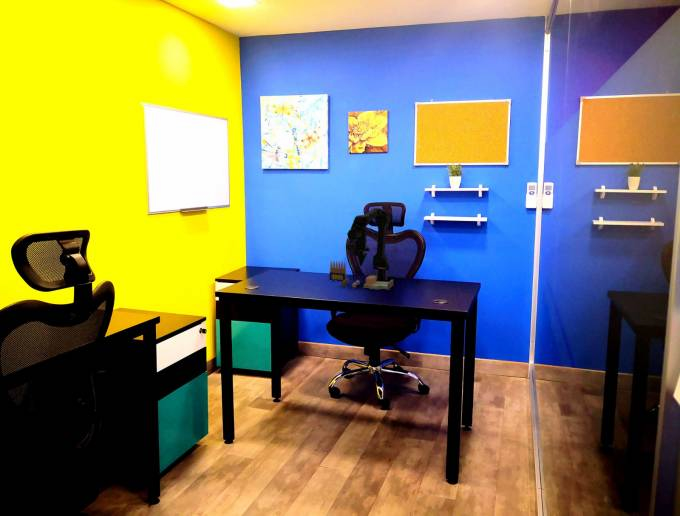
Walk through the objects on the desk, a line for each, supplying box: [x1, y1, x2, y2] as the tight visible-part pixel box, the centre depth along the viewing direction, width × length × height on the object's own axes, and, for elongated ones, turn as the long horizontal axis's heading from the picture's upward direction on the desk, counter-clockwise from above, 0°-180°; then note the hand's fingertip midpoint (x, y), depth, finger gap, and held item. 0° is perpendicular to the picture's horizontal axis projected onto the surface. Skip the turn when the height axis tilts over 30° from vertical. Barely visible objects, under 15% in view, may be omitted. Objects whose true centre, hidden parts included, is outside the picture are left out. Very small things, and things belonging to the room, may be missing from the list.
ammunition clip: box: [328, 260, 347, 282], centre depth 324 cm, size 11×2×12 cm, turn 63°
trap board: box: [341, 277, 394, 291], centre depth 308 cm, size 13×27×4 cm, turn 75°
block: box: [365, 275, 377, 285], centre depth 308 cm, size 10×4×4 cm, turn 165°
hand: (360, 265), depth 308 cm, fingers closed
